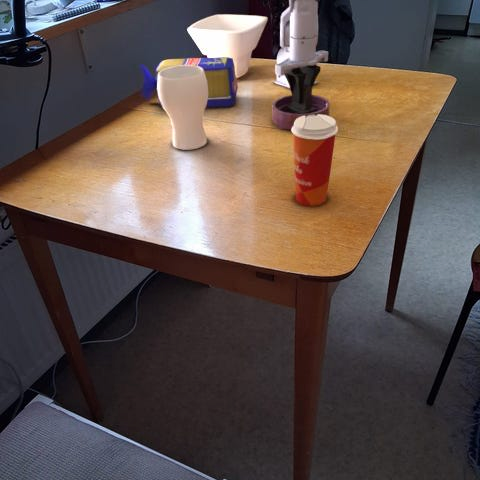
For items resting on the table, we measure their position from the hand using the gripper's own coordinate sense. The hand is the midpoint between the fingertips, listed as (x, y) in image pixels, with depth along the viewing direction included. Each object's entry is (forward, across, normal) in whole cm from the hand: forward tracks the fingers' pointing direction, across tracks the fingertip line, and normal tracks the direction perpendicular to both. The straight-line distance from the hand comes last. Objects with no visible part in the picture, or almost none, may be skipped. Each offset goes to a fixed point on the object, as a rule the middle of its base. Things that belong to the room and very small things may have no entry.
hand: (301, 100), depth 113 cm
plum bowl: (+4, -1, -1) cm, 4 cm away
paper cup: (+4, -25, -29) cm, 39 cm away
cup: (+4, -27, +8) cm, 29 cm away
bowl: (+4, +9, +39) cm, 40 cm away
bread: (+4, -12, +29) cm, 32 cm away
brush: (+4, 0, 0) cm, 4 cm away
